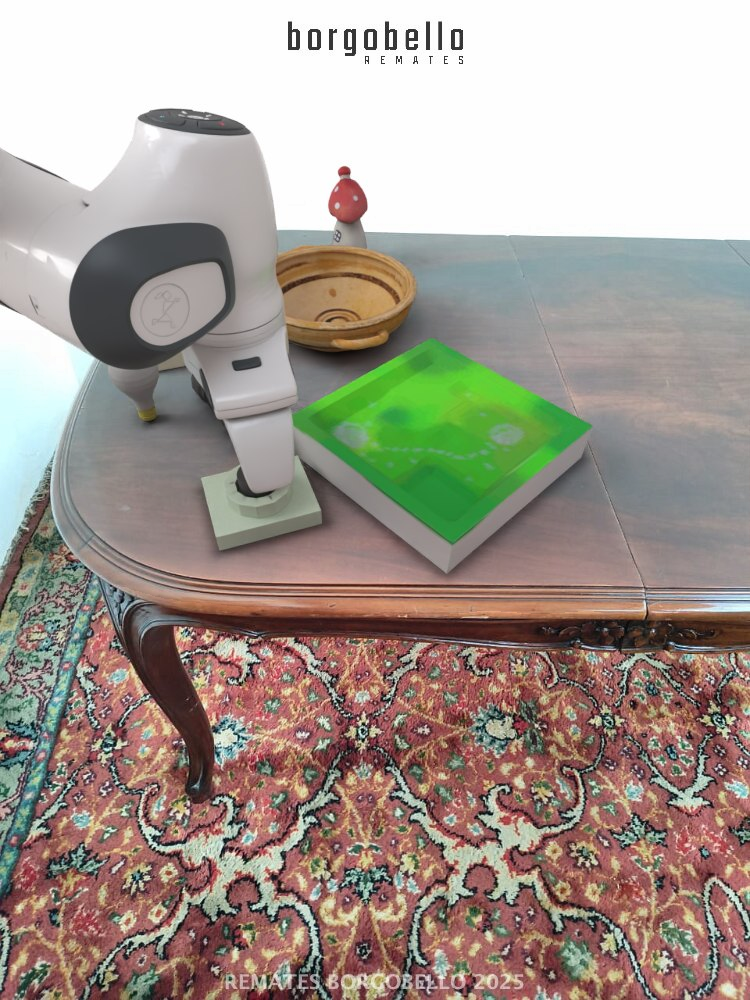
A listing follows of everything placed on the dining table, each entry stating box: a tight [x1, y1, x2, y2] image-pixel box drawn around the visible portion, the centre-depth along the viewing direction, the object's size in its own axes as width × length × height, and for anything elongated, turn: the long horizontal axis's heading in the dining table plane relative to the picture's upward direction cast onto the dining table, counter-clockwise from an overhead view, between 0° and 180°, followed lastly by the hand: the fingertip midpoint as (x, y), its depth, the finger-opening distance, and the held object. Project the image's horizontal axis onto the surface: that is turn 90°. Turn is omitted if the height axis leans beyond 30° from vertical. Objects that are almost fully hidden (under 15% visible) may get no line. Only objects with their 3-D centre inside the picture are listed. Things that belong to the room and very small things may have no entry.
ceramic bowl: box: [276, 244, 418, 353], centre depth 86 cm, size 30×24×8 cm
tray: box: [292, 337, 594, 575], centre depth 69 cm, size 25×25×5 cm
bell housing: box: [200, 455, 323, 552], centre depth 63 cm, size 11×9×4 cm
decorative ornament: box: [327, 165, 369, 249], centre depth 99 cm, size 9×7×15 cm
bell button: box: [237, 466, 274, 498], centre depth 61 cm, size 4×4×2 cm
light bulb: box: [107, 365, 160, 422], centre depth 71 cm, size 5×6×10 cm
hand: (255, 458), depth 59 cm, fingers closed
